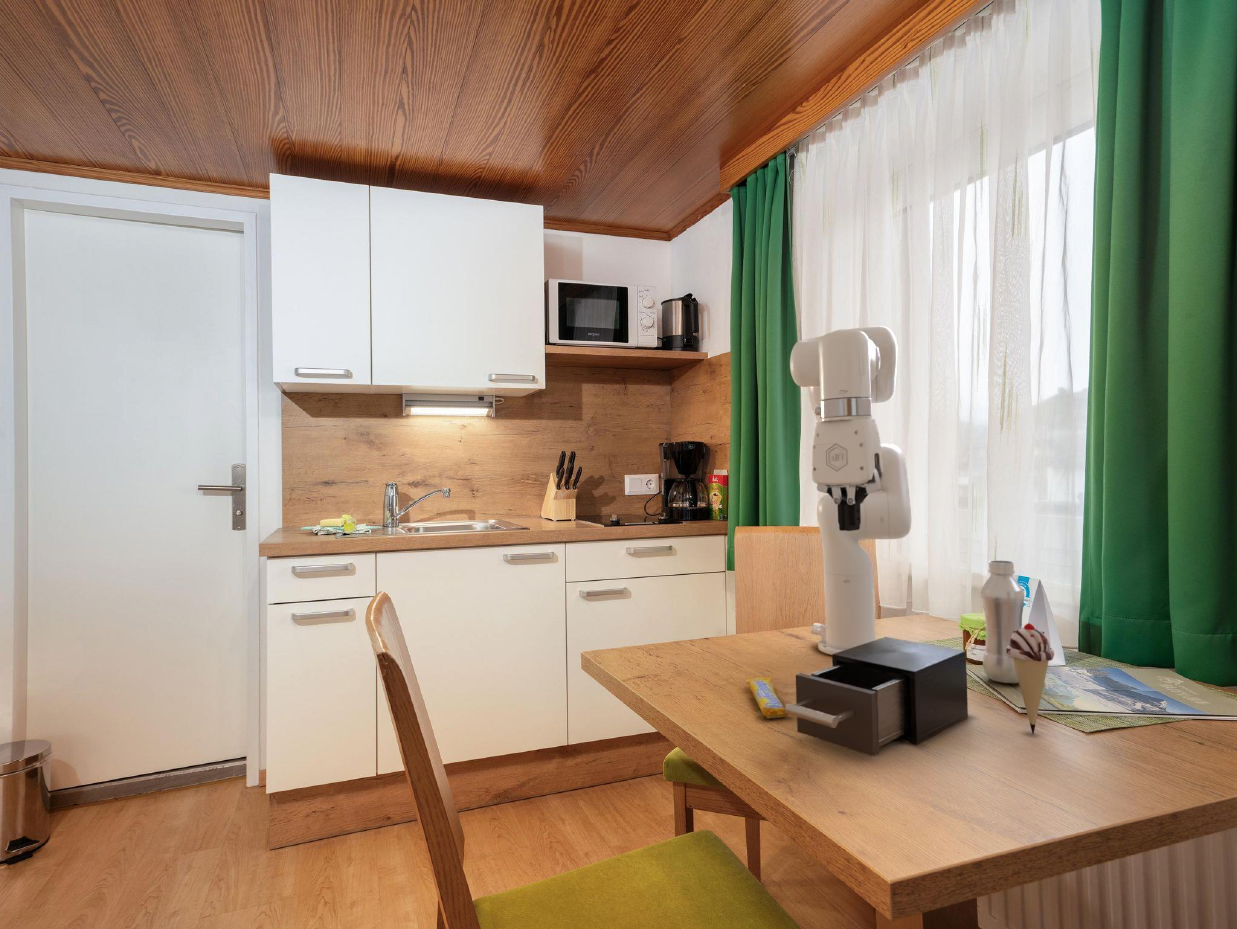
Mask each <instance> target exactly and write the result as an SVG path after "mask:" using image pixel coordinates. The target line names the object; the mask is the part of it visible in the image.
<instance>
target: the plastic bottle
mask: <svg viewBox="0 0 1237 929" xmlns="http://www.w3.org/2000/svg"><path fill="white" fill-rule="evenodd" d="M988 573H989V574H990V576H989V577H988V579H987V580H985V582H984V584H983V586H981V587H982V588H981V591H980V597H981V602H982V608H983V613H984V623H985V642H984V645H985V647H984V653H983V658H982V659H983V660H982V667H983V671H984V674H985V676H986V677H987V678H988V679H989V680H991V681H994V682H999V683H1004V684H1019V681H1018V677H1017V673H1016V670H1015V666H1014V662H1013V658H1009V657H1008V656H1007V653H1006V646H1008V645H1010V640H1011V637H1012V635H1013V634H1014V633H1013V631H1017V630H1018V629H1020V628H1022V626H1023V612H1024V604H1025V603H1024V601H1025V592H1024V590H1023V588H1022V586H1021V585H1020V583H1019V582H1018V581H1017V580H1016V579H1015V577H1014V576H1013V575H1014V574H1015V569H1014V562H1013V561H1010V560H989V561H988Z"/></svg>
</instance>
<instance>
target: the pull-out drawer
mask: <svg viewBox="0 0 1237 929" xmlns="http://www.w3.org/2000/svg"><path fill="white" fill-rule="evenodd" d="M909 677H910V676H905V675H900V674H896V673H891V672H887V671H882V670H878V669H873V668H869V667H864V666H860V665H855V664H850V663H846V662H843V663H840V664H837V665H834V666H832V665H831V666H828V667H826V668H822V669H821V670H817V671H814V672H811V673H810V674H807V673H803V672H800V673H797V674H795V701H796V703H791V702H788V703H786V704H785V707H784V709H785V712H786V713H787V714H788V715H790V716H792V717H796V730H797V731H796V732H797V733H799V734H803V735H805V736H809V737H812V738H815V739H818V740H821V741H824V742H828V743H830V744H833V745H836V746H839V747H842V748H845V749H848V750H852V751H854V752H858V753H860V754H864V755H867V756H870V757H874V758H875V757H876V756H878V755H879V748H880V747H882V746H885V745H886V744H888V743H890V742H892V741H894V740H896V739H897V738H898V737H900V736H902V735H904V734H906V733H908V732H910V731H911V709H910V680H909Z"/></svg>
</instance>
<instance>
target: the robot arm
mask: <svg viewBox="0 0 1237 929" xmlns="http://www.w3.org/2000/svg"><path fill="white" fill-rule="evenodd" d="M898 353H899V352H898V343H897V339H896V336H895V334H894V333H893V331H892V330H891V329H890V328H888V327H886V326H883V325H881V326H880V325H879V326H877V325H876V326H869V327H868V326H867V327H855V328H842V329H836V330H834V331H831V332H827V333H825V334H824V335H821V336H817V337H812V338H811V337H810V338H805V339H802V340H797V342H795V344H794V345H793V347H792V349H791V352H790V358H789V370H790V374H791V378H792V380H793V382H794V383H795V384H796V385H797V386H798V387H800V388H801V387H802V388H808V395H809V396H808V397H809V401H810V404H811V408H812V411H813V414H814V416H815V418H816V423H815V426H814V430H813V438H812V447H811V448H812V449H811V479H812V482H813V483H814V484H816V491H818V492H820V493H823V494H825V495H823V496H822V497H821V498H820V499H819V501H818V503H817V505H816V506H817V507H816V514H817V516H816V517H817V523H818V528H819V533H820V539H821V540H820V541H821V546H822V548H821V549H822V562H823V584H824V585H823V590H824V591H823V592H824V621H825V622H824V623H825V624H823V623H818V622H814V623H813V625H812V626H811V628H810V633H811V634H812V635H817V636H820V637H821V638H820V639H821V640H820V641H818V643H817V648H818V650H819V651H820V652H822V653H823V654H826V655H830V656H832V654H834V653H837V652H841V651H844V650H847V649H850V648H853V647H856V646H859V645H862V644H865V643H868V642H871V641H874V640H877V630H876V628H877V627H876V597H875V596H876V595H875V569H874V568H875V567H874V561H873V559H872V556H871V555H870V554H869V552H867V550H866V549H864V547H863V546H862V545H861V544H860V543H859V541H864V540H899V539H903V538H905V537H907V536H908V535H909V533H910V531H911V528H912V509H911V508H912V507H911V498H910V489H909V481H908V480H909V479H908V470H907V463H906V458H905V455H904V452H903V450H902V449H901V448H900V447H898V446H897V445H895V444H890V443H881V437H880V433H879V428H878V424H877V420H876V419H875V418H872V417H873V416H872V415H873V414H872V404H879V403H885V402H888V401H890V400H891V399H892V398H893V397H894V394H895V390H896V382H897V368H898Z"/></svg>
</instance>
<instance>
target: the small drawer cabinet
mask: <svg viewBox="0 0 1237 929" xmlns="http://www.w3.org/2000/svg"><path fill="white" fill-rule="evenodd" d="M843 662H846V663H850V664H855V665H860V666H864V667H869V668H873V669H878V670H882V671H887V672H891V673H896V674H900V675H905V676H910V677H909V680H910V709H911V731H910V732H908V733H906V734H904V735H902V736H900V737H898V738H896V739H897V740H899V741H900V740H901V741H903V742H907V743H909V744H910V743H911V744H914V745H919V744H921V743H922V742H925V741H927V740H928V739H930V738H932V737H934V736H936V735H938V734H940V733H941V732H943V731H945V730H947V729H949V728H951V727H952V726H954V725H956V724H958V723H960V722H963V720H966V719H967V718H969V713H968V712H969V705H968V679H967V678H968V676H967V673H968V672H967V651H966V650H962V649H955V648H950V647H945V646H941V645H940V646H939V645H934V644H928V643H923V642H917V641H911V640H907V639H899V638H895V637H889V636H888V637H887V636H884V637H879V638H878V639H877V638H876V640H874V641H871V642H868V643H865V644H862V645H859V646H856V647H853V648H850V649H847V650H844V651H841V652H837V653H834V654H832V655H831V667H832V666H834V665H837V664H840V663H843Z"/></svg>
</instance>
